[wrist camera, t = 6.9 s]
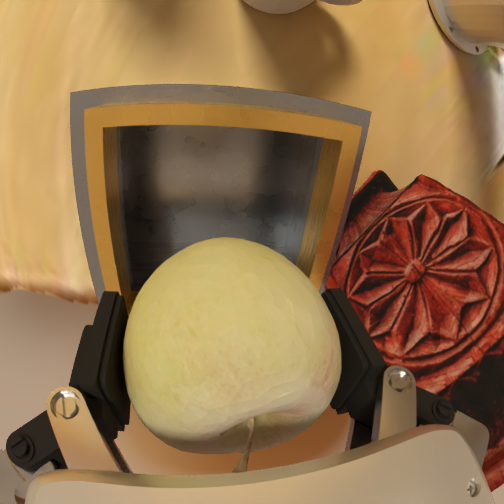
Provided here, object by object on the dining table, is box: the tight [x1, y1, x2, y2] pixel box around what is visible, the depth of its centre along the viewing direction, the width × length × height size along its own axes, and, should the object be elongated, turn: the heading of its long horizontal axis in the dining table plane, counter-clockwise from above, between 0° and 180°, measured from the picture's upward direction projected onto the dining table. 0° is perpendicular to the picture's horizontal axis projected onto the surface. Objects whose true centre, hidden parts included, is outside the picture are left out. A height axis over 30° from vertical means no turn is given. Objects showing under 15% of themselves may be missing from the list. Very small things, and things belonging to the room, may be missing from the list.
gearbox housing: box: [70, 84, 371, 316], centre depth 21 cm, size 18×16×12 cm
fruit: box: [123, 237, 342, 473], centre depth 9 cm, size 8×7×8 cm
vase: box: [325, 170, 504, 492], centre depth 20 cm, size 14×14×30 cm
